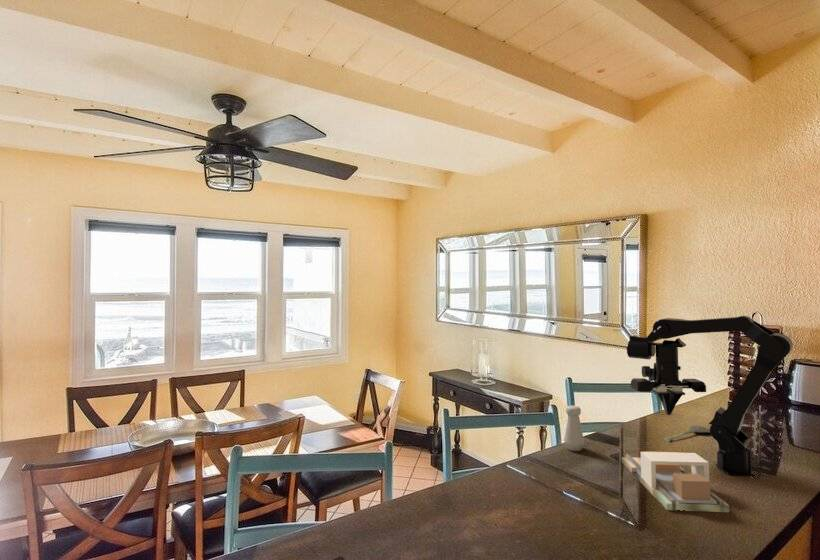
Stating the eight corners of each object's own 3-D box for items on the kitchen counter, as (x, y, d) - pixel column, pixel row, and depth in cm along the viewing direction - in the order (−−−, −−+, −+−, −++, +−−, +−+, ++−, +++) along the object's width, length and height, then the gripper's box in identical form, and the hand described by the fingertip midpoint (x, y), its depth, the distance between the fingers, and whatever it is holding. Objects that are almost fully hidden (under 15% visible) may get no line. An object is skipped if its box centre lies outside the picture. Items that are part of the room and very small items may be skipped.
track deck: (670, 463, 122) (670, 455, 122) (729, 512, 96) (729, 501, 96) (621, 462, 124) (621, 454, 124) (666, 510, 97) (666, 499, 97)
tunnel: (695, 478, 110) (694, 452, 110) (709, 489, 104) (708, 462, 104) (641, 477, 111) (640, 451, 111) (651, 487, 105) (651, 461, 105)
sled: (676, 470, 114) (676, 452, 114) (716, 503, 96) (716, 481, 97) (644, 469, 115) (644, 451, 115) (678, 502, 97) (677, 480, 97)
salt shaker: (585, 452, 131) (584, 409, 132) (565, 451, 133) (564, 408, 133) (582, 445, 137) (581, 404, 137) (563, 444, 138) (562, 403, 138)
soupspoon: (718, 436, 146) (698, 432, 152) (717, 426, 147) (697, 422, 153) (676, 445, 137) (656, 440, 143) (675, 434, 137) (656, 429, 143)
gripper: (686, 356, 136) (687, 407, 135) (623, 356, 138) (624, 406, 137) (706, 363, 125) (708, 418, 124) (638, 363, 126) (639, 417, 126)
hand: (668, 414), depth 128 cm, fingers closed
